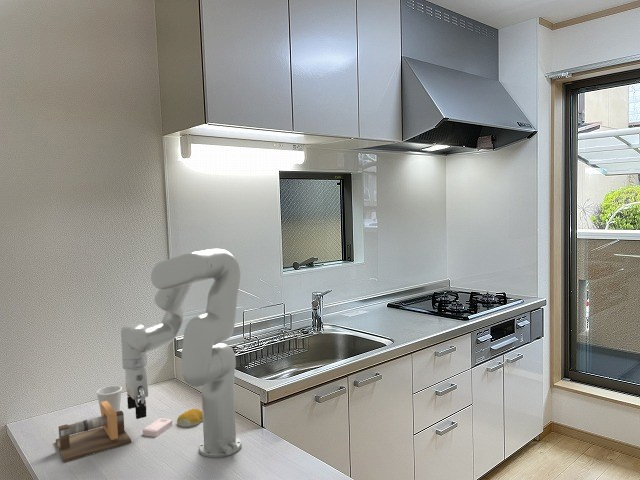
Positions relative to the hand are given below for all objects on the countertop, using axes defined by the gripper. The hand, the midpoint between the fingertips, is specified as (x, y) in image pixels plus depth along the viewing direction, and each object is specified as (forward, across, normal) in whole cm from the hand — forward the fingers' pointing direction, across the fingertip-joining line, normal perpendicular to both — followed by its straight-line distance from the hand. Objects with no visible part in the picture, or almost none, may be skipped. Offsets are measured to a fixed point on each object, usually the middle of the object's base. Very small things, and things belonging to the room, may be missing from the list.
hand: (136, 412), depth 164 cm
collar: (+4, 0, +9) cm, 10 cm away
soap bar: (+6, -4, -5) cm, 9 cm away
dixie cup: (+6, +16, +5) cm, 18 cm away
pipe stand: (+6, 0, +14) cm, 15 cm away
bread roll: (+6, -6, -16) cm, 18 cm away
